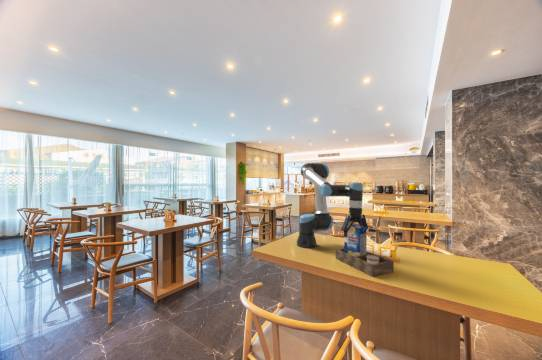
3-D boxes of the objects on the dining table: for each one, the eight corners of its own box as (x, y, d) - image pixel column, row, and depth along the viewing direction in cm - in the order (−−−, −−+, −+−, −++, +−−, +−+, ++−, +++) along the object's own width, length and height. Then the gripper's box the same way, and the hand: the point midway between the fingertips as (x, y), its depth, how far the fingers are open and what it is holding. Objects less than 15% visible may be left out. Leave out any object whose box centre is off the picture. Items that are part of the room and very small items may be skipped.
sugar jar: (363, 268, 124) (363, 255, 124) (371, 266, 127) (372, 254, 127) (373, 272, 118) (373, 259, 118) (381, 270, 121) (381, 258, 121)
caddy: (335, 258, 139) (336, 249, 139) (354, 255, 145) (354, 246, 145) (372, 276, 113) (373, 265, 113) (393, 272, 120) (393, 261, 120)
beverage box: (359, 265, 128) (360, 228, 128) (343, 259, 137) (344, 224, 137) (366, 263, 132) (366, 227, 132) (350, 257, 141) (351, 223, 141)
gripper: (344, 208, 126) (343, 245, 127) (375, 207, 137) (374, 241, 137) (335, 207, 133) (334, 241, 133) (365, 205, 144) (364, 237, 144)
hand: (354, 241), depth 135 cm, fingers open, 13 cm apart
